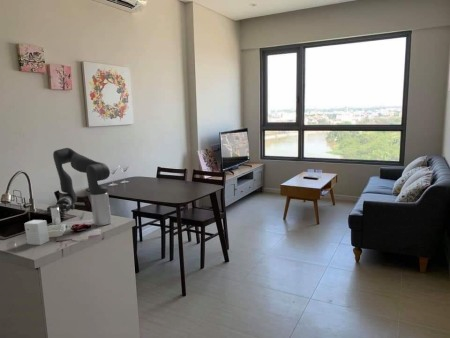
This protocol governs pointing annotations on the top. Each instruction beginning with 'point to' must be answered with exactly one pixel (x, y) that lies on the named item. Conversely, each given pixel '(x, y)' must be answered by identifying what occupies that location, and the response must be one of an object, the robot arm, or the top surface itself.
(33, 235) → the small box
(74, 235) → the top surface
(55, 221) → the glass shaker
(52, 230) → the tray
